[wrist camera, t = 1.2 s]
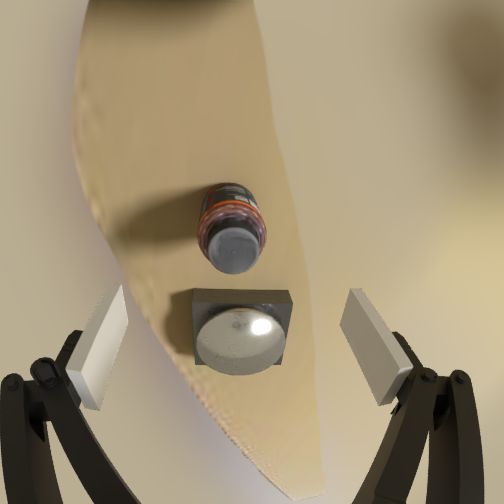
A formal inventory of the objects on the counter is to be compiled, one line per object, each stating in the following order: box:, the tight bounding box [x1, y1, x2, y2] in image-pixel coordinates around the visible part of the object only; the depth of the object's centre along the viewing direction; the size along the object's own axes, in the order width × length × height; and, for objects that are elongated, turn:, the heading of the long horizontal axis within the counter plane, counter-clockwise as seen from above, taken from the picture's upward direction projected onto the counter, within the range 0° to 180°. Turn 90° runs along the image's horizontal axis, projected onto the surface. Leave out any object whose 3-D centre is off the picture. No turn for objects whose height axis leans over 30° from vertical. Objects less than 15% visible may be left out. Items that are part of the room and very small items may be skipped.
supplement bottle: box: [197, 183, 267, 274], centre depth 28 cm, size 6×6×11 cm
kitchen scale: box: [192, 288, 293, 375], centre depth 38 cm, size 12×12×5 cm
